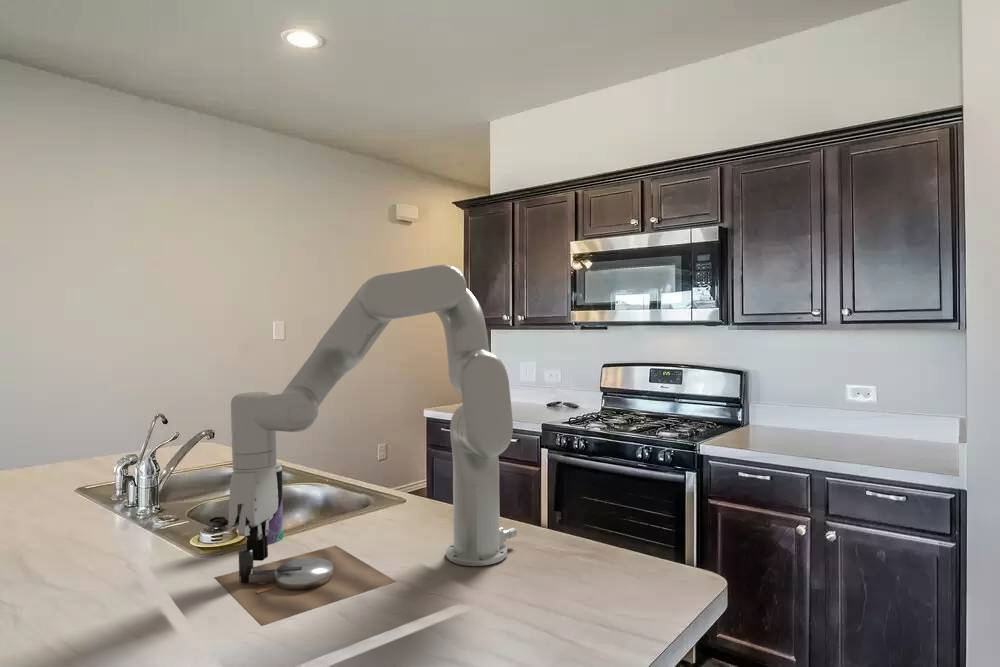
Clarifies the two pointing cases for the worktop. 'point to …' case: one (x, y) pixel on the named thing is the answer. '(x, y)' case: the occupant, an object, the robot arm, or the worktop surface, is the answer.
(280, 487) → the spray can
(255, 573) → the dial
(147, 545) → the worktop surface
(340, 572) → the board
